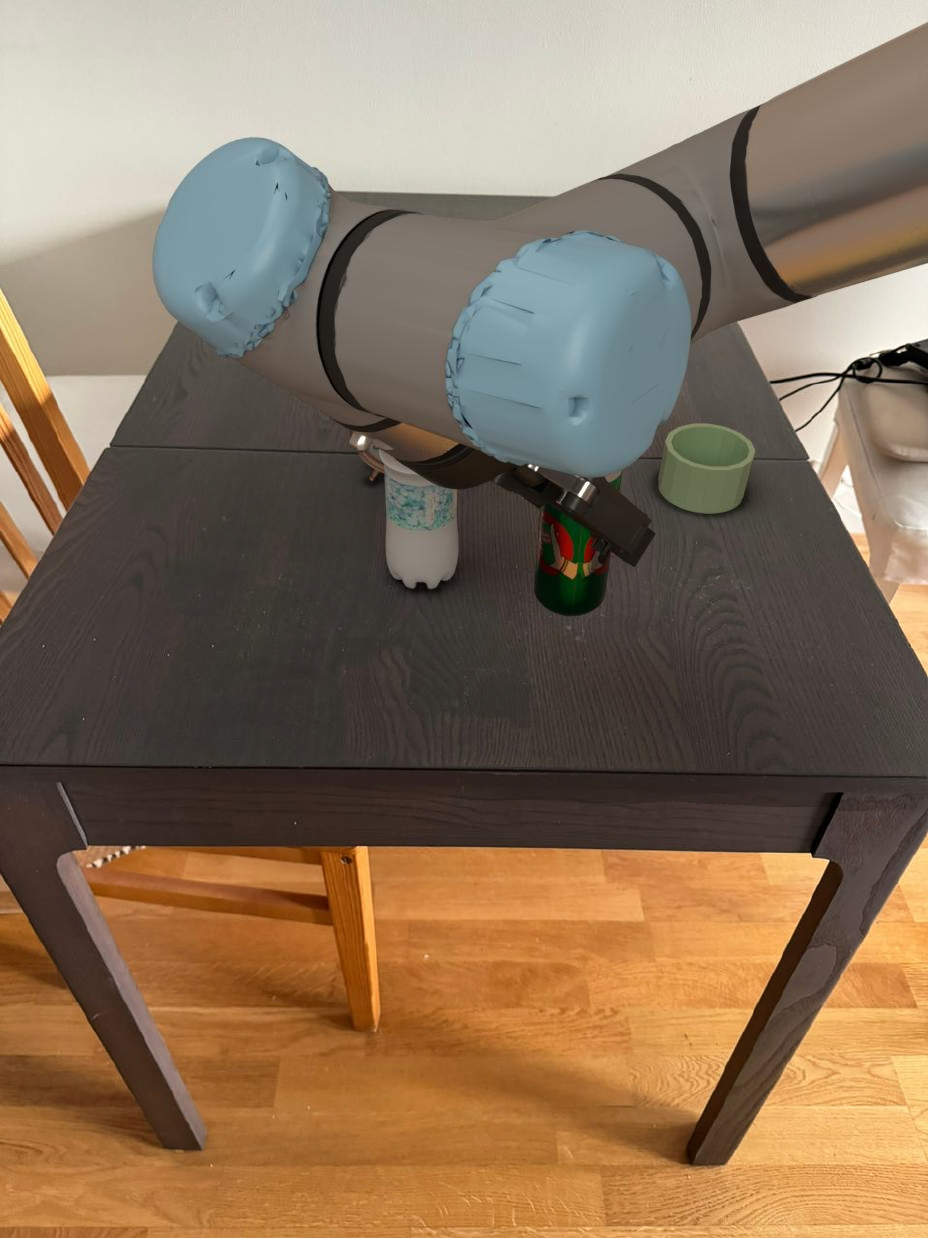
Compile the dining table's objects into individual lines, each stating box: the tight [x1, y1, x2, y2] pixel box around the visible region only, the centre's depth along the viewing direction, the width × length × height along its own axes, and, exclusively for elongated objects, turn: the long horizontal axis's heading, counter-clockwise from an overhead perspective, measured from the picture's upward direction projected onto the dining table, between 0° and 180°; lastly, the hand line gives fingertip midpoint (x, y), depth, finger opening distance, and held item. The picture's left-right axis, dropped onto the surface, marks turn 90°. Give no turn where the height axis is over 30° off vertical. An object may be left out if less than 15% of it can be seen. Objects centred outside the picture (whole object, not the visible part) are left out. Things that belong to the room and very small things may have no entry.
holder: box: [657, 422, 756, 515], centre depth 91 cm, size 8×8×5 cm
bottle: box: [379, 449, 460, 590], centre depth 75 cm, size 7×7×20 cm
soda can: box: [533, 469, 624, 617], centre depth 62 cm, size 5×5×12 cm
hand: (608, 530), depth 65 cm, fingers closed on soda can, 5 cm apart
